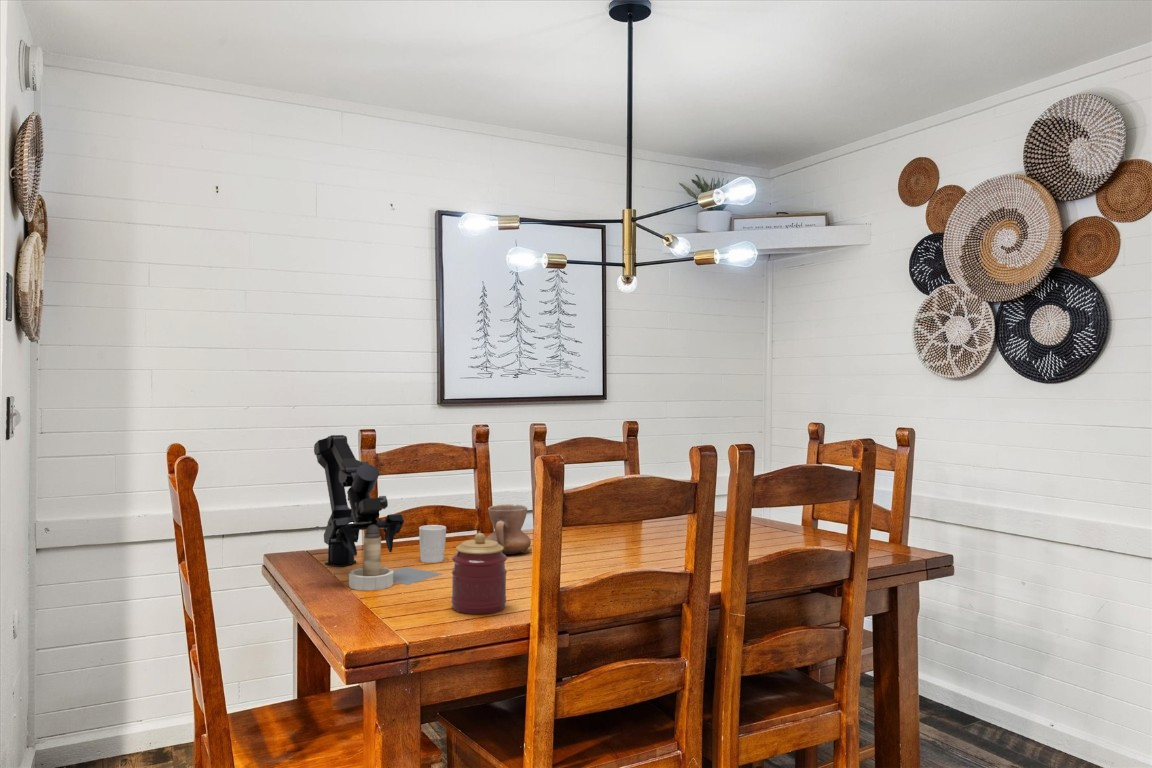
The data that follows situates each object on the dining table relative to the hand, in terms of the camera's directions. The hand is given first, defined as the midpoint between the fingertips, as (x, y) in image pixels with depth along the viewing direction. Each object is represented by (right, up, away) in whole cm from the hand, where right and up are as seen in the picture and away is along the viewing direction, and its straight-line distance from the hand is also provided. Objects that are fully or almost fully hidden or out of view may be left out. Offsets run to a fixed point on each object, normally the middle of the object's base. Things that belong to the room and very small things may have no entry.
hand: (373, 553), depth 206 cm
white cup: (+10, -9, +30) cm, 33 cm away
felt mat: (+6, -9, +11) cm, 16 cm away
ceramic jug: (+30, -9, +44) cm, 54 cm away
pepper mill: (-1, -8, +1) cm, 8 cm away
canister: (+29, -10, -16) cm, 35 cm away
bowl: (-1, -9, +1) cm, 9 cm away
